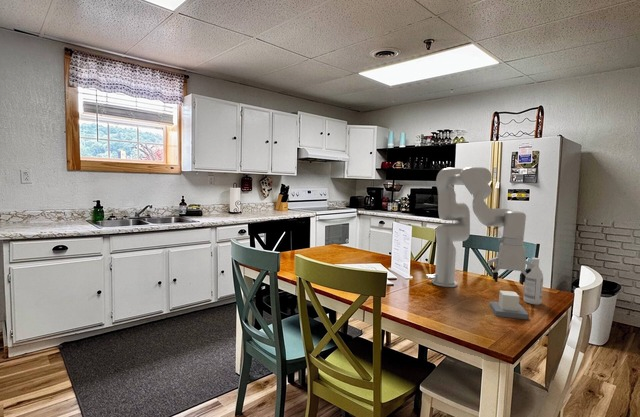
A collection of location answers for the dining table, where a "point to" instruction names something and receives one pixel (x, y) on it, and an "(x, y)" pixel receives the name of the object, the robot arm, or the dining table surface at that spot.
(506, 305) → the block
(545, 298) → the dining table surface
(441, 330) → the dining table surface
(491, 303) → the tile
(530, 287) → the bath foam
